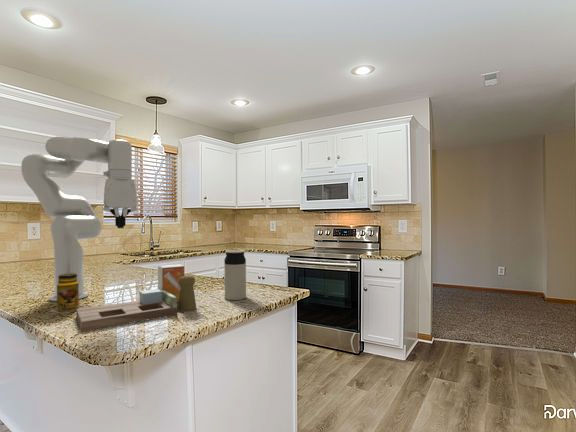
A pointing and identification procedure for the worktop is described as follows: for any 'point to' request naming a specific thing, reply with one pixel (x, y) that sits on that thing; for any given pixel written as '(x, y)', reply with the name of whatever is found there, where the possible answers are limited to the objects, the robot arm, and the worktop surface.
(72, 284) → the condiment
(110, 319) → the board
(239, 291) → the travel mug
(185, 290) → the pepper mill
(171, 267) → the small box
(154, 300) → the block
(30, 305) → the worktop surface
